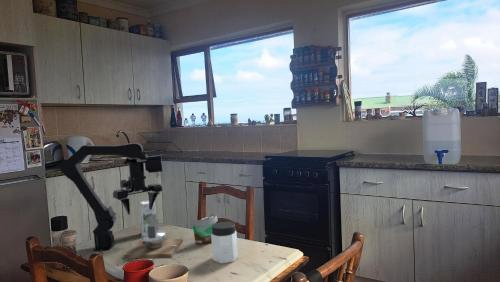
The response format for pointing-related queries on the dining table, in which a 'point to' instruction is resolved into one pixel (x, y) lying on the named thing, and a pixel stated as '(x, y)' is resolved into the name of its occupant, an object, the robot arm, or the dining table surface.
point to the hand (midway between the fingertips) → (139, 211)
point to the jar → (224, 242)
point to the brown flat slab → (154, 249)
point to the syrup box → (147, 214)
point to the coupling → (153, 234)
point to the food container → (204, 229)
